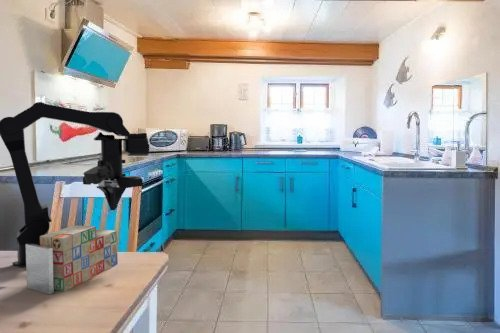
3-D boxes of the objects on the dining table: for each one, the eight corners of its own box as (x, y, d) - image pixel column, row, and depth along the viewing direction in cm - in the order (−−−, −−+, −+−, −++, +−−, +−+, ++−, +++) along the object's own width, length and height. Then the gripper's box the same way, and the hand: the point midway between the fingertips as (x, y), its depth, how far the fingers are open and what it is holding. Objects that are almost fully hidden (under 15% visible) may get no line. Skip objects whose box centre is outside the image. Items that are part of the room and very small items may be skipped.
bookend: (26, 288, 96) (25, 244, 96) (31, 286, 97) (29, 243, 96) (49, 294, 92) (48, 248, 92) (53, 293, 93) (52, 247, 92)
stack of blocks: (97, 262, 116) (96, 218, 116) (118, 264, 115) (117, 219, 114) (40, 289, 96) (38, 235, 95) (64, 292, 94) (62, 237, 93)
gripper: (66, 156, 120) (67, 211, 121) (113, 158, 111) (114, 217, 112) (97, 155, 130) (99, 206, 131) (143, 156, 121) (144, 211, 122)
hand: (112, 210), depth 124 cm, fingers closed
